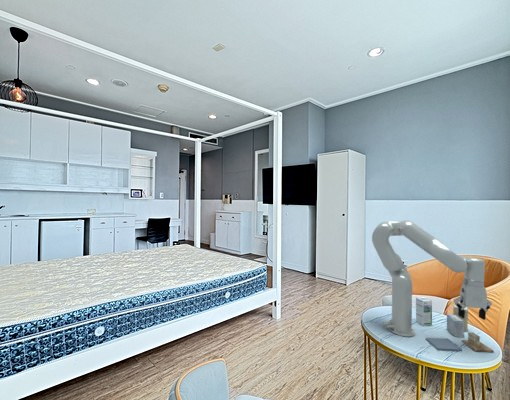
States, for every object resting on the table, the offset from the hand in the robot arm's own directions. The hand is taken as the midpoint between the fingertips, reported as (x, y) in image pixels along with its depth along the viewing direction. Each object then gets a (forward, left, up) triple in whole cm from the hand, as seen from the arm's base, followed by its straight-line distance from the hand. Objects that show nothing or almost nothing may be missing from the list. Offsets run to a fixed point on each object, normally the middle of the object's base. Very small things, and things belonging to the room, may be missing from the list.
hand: (471, 317), depth 128 cm
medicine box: (+1, +13, -14) cm, 19 cm away
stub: (+2, 0, -14) cm, 14 cm away
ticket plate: (-14, 0, -14) cm, 19 cm away
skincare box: (+8, +19, -14) cm, 25 cm away
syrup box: (-9, +24, -14) cm, 29 cm away
